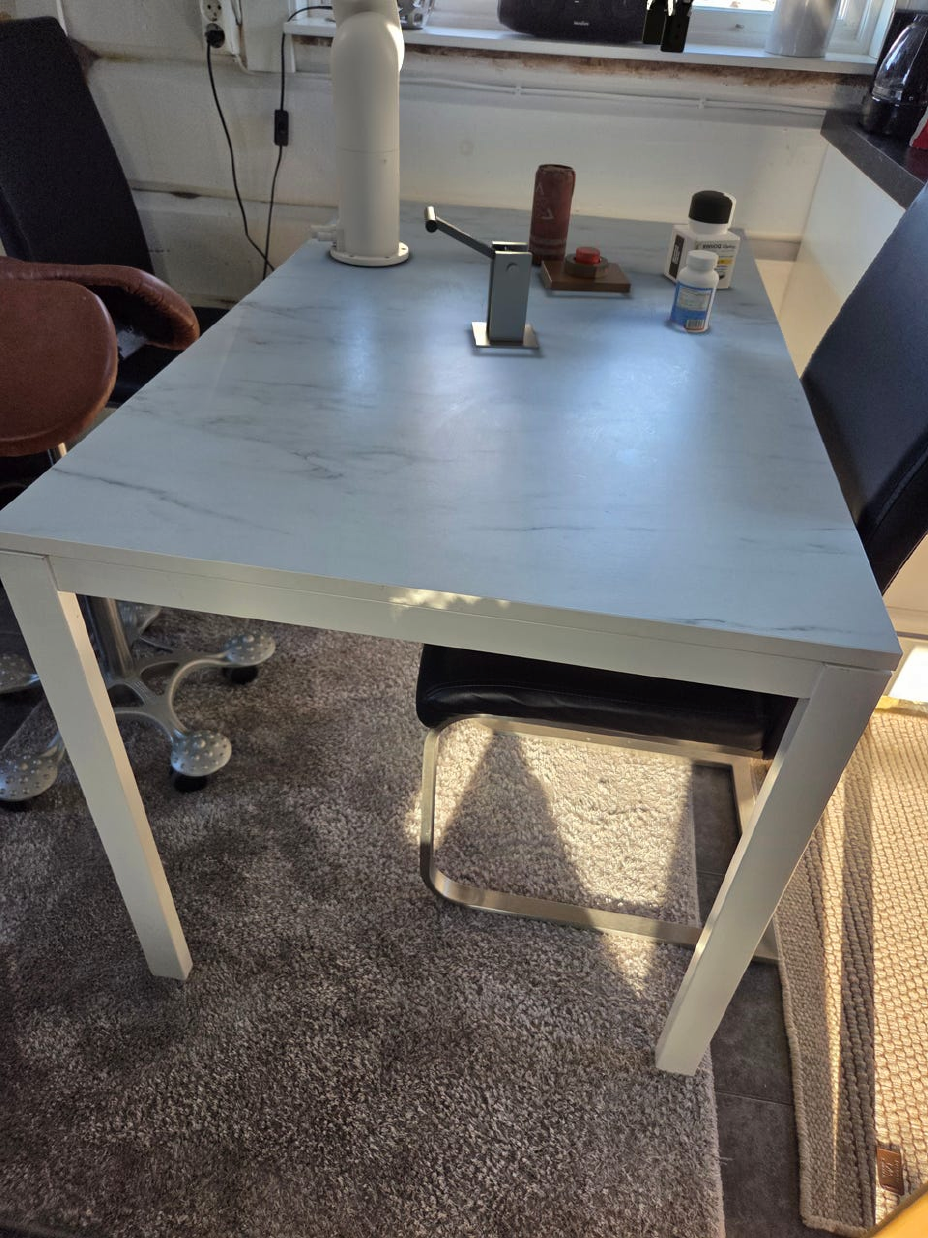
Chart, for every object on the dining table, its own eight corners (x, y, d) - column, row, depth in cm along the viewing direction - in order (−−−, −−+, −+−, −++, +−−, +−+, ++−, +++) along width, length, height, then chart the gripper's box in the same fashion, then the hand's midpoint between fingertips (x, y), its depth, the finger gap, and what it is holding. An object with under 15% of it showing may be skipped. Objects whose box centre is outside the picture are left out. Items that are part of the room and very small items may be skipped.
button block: (549, 296, 123) (553, 268, 121) (540, 274, 131) (543, 248, 128) (628, 298, 124) (633, 271, 122) (614, 277, 132) (618, 250, 129)
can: (563, 269, 134) (575, 172, 125) (524, 264, 135) (534, 168, 126) (567, 258, 138) (579, 165, 130) (529, 254, 139) (539, 160, 130)
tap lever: (421, 233, 96) (430, 213, 95) (419, 219, 100) (428, 200, 99) (518, 285, 100) (528, 267, 99) (512, 270, 105) (522, 252, 104)
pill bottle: (679, 316, 119) (695, 245, 113) (713, 326, 117) (731, 254, 111) (661, 326, 116) (676, 253, 110) (695, 336, 114) (713, 262, 107)
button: (577, 265, 124) (578, 252, 123) (573, 257, 127) (574, 245, 125) (600, 266, 124) (602, 253, 123) (596, 258, 127) (597, 246, 126)
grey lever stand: (475, 354, 105) (482, 256, 97) (470, 330, 111) (476, 237, 103) (538, 356, 105) (549, 258, 98) (529, 332, 111) (539, 239, 104)
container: (684, 290, 129) (704, 199, 120) (662, 274, 134) (680, 186, 126) (728, 289, 130) (751, 199, 122) (705, 273, 136) (725, 186, 128)
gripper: (644, -115, 111) (620, 40, 122) (681, -121, 98) (651, 53, 109) (698, -111, 112) (670, 43, 123) (742, -116, 99) (706, 57, 109)
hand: (661, 48), depth 116 cm, fingers open, 9 cm apart
